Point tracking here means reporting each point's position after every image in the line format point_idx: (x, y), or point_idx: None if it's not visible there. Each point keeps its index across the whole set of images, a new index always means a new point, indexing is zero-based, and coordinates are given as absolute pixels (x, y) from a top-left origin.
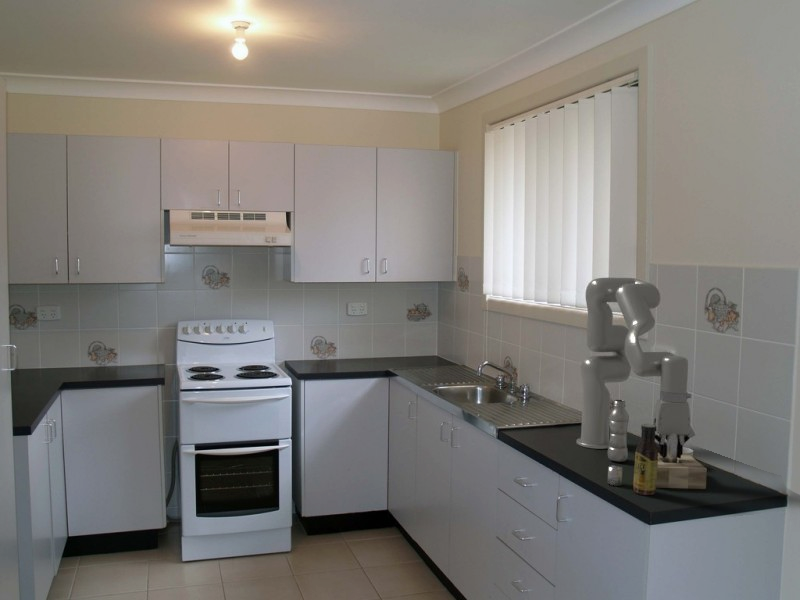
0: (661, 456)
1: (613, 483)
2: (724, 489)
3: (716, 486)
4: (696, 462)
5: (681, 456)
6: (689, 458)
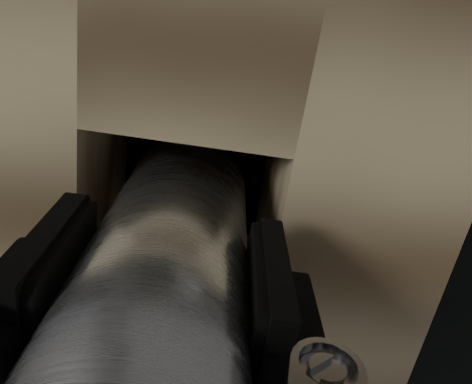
0: (133, 88)
1: None
2: (450, 351)
3: (442, 304)
4: (409, 315)
5: (390, 101)
6: (434, 183)
